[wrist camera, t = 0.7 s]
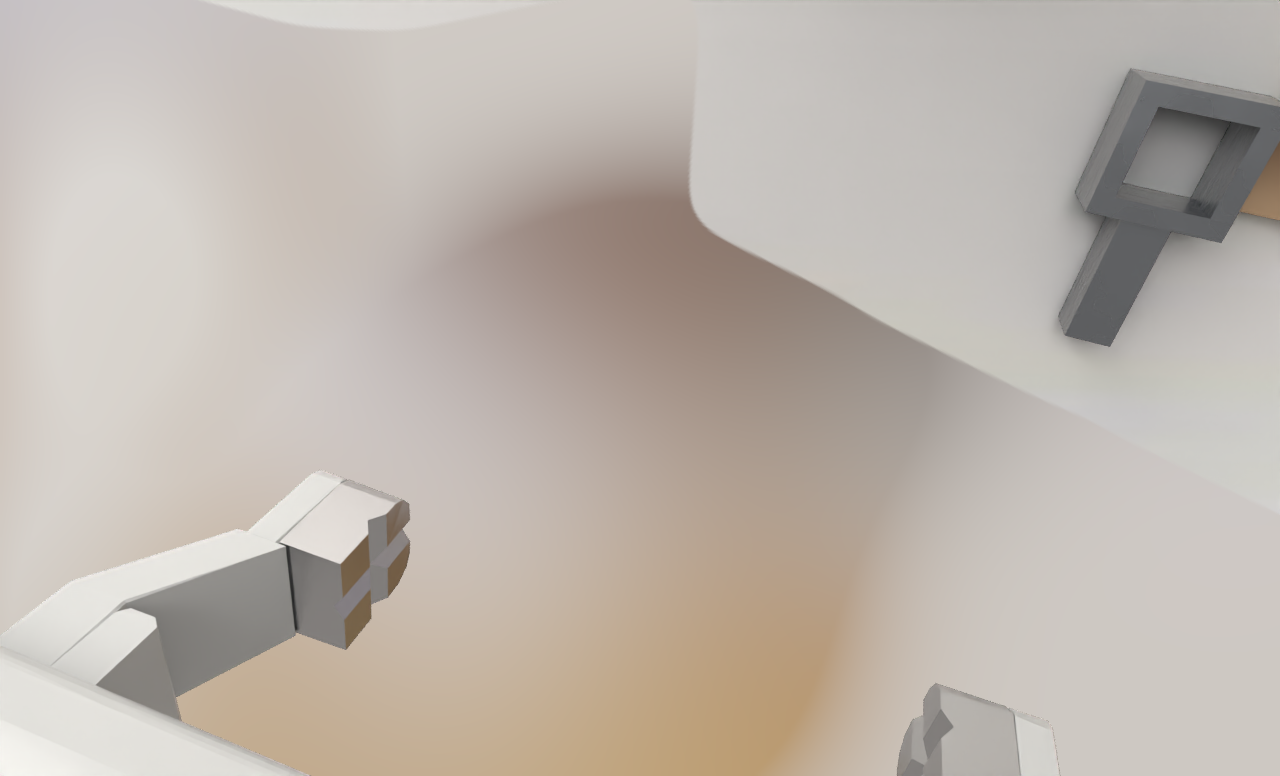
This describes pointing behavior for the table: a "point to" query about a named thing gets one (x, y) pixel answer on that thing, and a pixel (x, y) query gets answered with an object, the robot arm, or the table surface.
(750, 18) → the table surface
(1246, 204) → the base
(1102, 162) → the square loop paddle
